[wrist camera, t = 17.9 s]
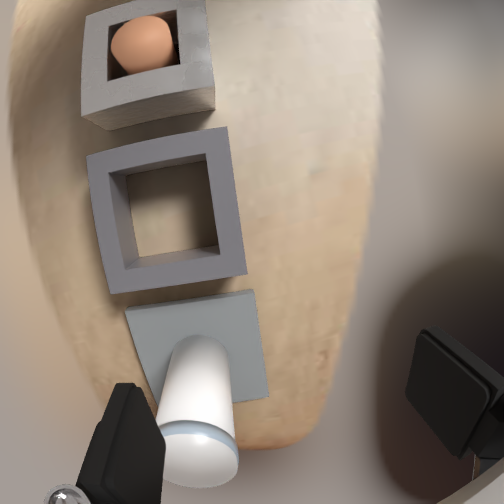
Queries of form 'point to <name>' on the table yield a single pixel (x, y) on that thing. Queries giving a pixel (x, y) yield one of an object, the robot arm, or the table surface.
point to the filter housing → (120, 220)
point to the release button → (144, 45)
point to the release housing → (149, 82)
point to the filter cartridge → (198, 415)
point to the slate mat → (208, 324)
